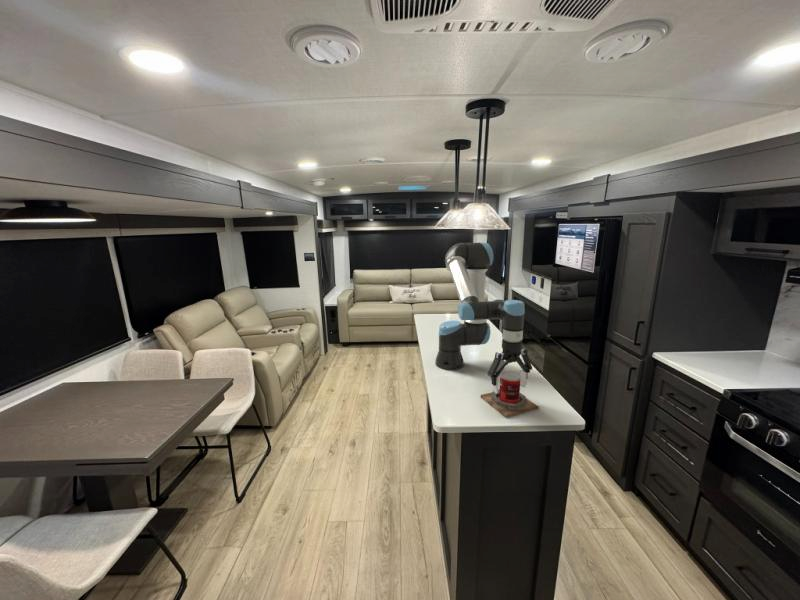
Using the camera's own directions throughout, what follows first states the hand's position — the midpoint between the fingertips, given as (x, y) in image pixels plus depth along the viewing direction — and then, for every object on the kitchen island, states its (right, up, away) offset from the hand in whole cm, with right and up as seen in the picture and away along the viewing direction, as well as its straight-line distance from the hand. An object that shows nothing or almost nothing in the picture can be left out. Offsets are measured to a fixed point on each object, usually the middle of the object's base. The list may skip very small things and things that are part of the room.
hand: (509, 389), depth 123 cm
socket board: (0, -6, +1) cm, 6 cm away
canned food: (0, -5, +1) cm, 5 cm away
